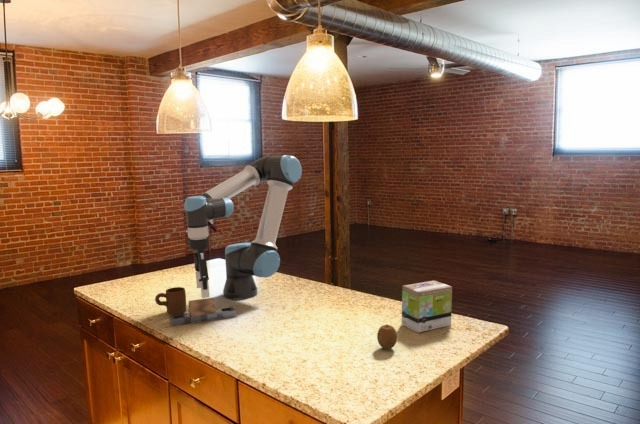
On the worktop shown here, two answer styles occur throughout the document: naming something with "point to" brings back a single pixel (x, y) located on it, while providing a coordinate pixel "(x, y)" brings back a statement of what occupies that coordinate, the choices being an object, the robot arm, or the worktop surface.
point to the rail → (202, 317)
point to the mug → (173, 300)
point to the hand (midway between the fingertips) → (202, 292)
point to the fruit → (387, 336)
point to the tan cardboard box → (202, 307)
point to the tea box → (426, 305)
